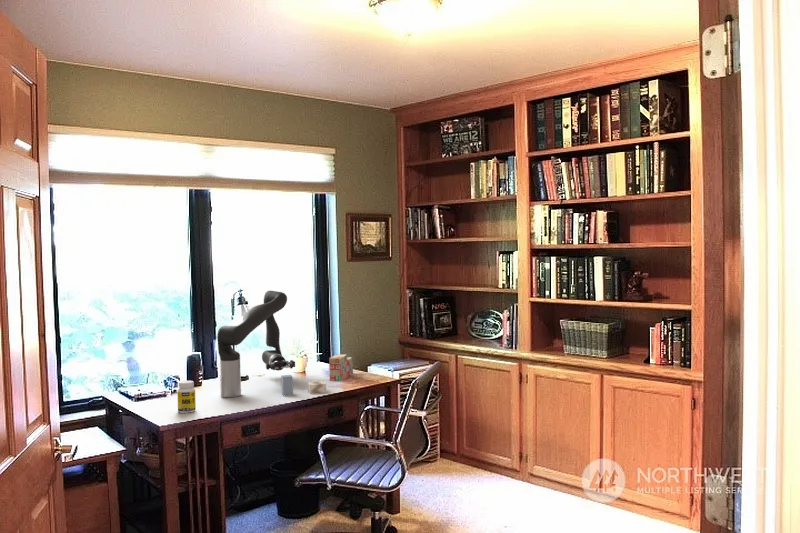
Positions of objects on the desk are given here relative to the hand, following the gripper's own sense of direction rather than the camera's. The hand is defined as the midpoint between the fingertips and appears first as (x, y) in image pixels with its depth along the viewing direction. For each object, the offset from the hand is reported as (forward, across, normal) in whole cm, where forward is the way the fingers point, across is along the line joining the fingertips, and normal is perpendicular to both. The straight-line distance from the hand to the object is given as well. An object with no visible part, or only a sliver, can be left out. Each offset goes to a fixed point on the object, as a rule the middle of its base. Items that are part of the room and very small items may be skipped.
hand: (282, 367), depth 321 cm
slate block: (+12, 0, +11) cm, 16 cm away
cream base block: (+12, +14, +12) cm, 22 cm away
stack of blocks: (-19, +34, +12) cm, 41 cm away
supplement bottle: (+26, -46, +10) cm, 54 cm away
